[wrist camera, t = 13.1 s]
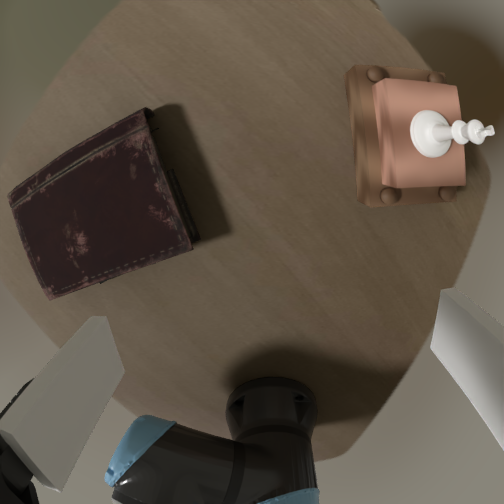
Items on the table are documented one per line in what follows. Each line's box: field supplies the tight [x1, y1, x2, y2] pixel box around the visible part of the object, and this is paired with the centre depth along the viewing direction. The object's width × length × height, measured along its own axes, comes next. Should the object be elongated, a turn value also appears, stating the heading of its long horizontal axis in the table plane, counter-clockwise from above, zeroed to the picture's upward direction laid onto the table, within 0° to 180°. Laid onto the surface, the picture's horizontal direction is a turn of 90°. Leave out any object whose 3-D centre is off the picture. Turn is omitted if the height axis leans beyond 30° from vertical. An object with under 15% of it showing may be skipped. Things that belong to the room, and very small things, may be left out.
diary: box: [7, 107, 201, 300], centre depth 36 cm, size 19×25×5 cm
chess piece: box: [410, 110, 495, 158], centre depth 20 cm, size 5×5×10 cm
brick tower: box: [344, 65, 466, 207], centre depth 29 cm, size 16×12×9 cm
